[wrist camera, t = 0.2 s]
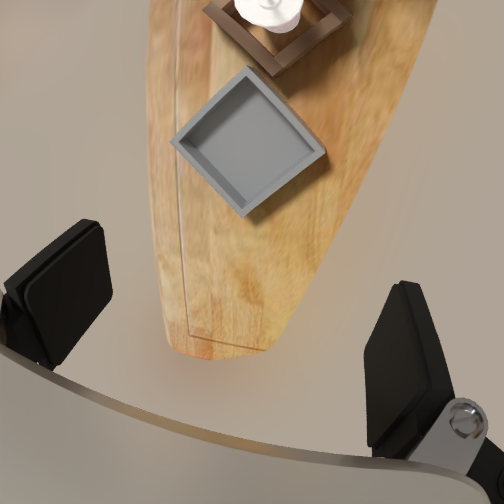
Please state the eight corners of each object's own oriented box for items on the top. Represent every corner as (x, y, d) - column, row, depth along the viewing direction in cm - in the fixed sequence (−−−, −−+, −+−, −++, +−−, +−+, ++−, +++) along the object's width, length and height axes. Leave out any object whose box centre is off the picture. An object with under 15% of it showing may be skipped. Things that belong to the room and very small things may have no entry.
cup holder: (281, -40, 25) (277, -52, 22) (348, 21, 28) (352, 14, 24) (213, 16, 30) (201, 10, 27) (277, 77, 33) (272, 76, 29)
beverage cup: (246, 0, 28) (208, -36, 17) (297, -13, 27) (285, -59, 15) (261, 45, 31) (230, 25, 19) (313, 32, 29) (311, 4, 17)
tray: (252, 67, 33) (246, 65, 30) (325, 146, 36) (325, 152, 33) (180, 136, 39) (169, 141, 36) (247, 207, 42) (241, 218, 39)
